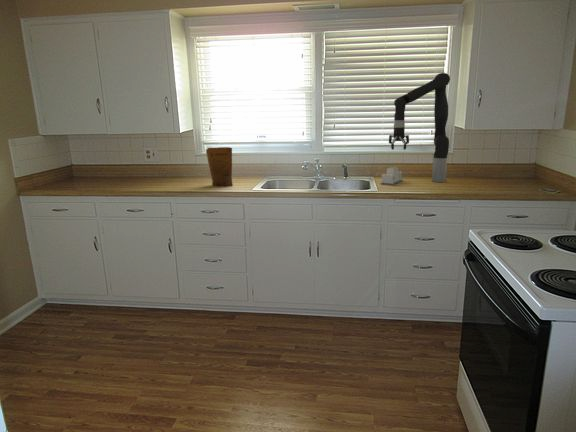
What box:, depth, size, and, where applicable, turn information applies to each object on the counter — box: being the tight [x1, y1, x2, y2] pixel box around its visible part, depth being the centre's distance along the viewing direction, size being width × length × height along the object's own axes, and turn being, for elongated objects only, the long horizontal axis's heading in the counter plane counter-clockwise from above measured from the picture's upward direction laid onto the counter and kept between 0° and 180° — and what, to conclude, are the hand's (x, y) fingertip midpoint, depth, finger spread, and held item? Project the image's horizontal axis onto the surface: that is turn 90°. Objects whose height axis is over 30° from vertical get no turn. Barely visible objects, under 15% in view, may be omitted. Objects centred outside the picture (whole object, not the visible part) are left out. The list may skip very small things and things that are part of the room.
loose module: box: [386, 166, 399, 181], centre depth 309 cm, size 5×9×9 cm, turn 146°
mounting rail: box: [380, 170, 404, 187], centre depth 309 cm, size 9×20×7 cm, turn 146°
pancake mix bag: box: [205, 146, 234, 187], centre depth 308 cm, size 7×19×28 cm, turn 75°
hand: (398, 149), depth 309 cm, fingers open, 8 cm apart
